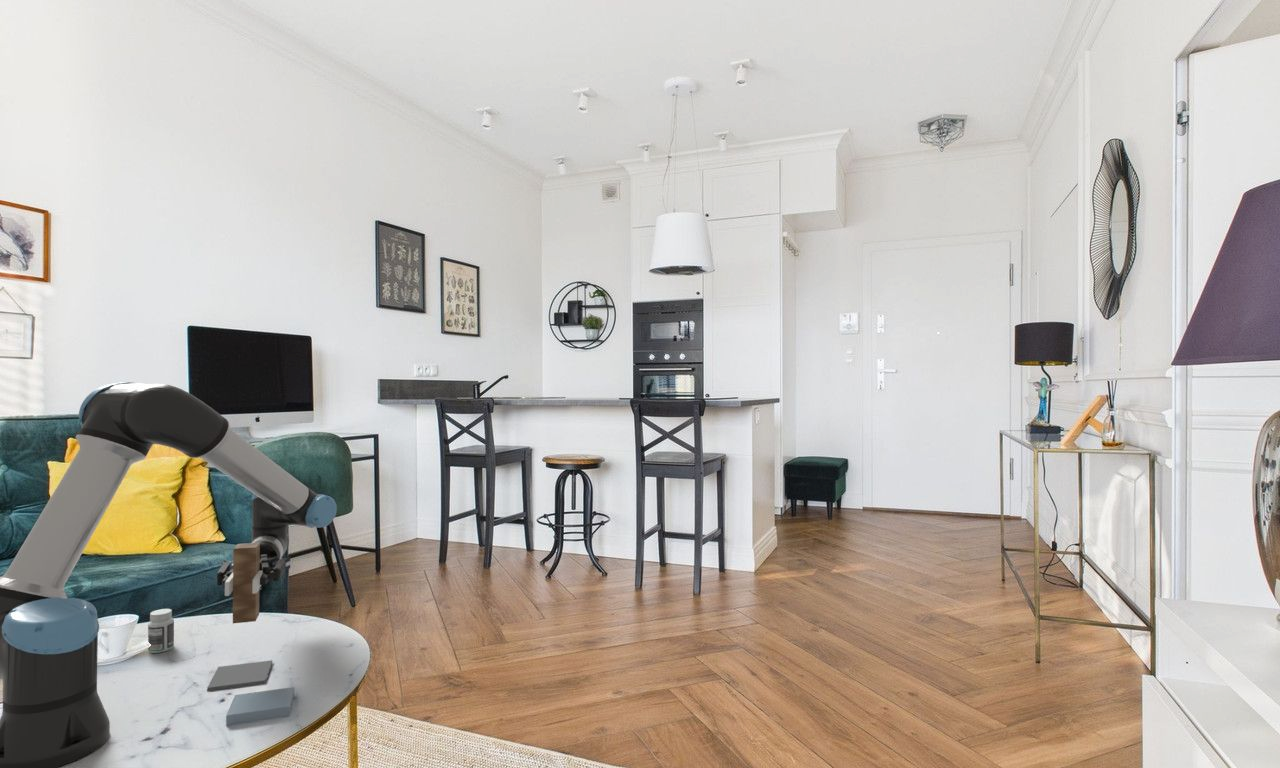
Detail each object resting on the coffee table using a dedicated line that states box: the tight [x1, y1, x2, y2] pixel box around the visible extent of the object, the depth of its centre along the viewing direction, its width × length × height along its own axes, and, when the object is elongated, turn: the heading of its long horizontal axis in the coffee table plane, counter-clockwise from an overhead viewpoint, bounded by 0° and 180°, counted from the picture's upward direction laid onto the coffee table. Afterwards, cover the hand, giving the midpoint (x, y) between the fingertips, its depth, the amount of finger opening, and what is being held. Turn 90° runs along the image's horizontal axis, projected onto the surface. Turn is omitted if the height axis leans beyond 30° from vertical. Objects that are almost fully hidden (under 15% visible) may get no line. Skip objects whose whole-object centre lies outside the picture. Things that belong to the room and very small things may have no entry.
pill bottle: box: [147, 608, 175, 654], centre depth 150 cm, size 5×5×8 cm
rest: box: [206, 659, 273, 692], centre depth 137 cm, size 10×10×1 cm
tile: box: [225, 686, 295, 726], centre depth 124 cm, size 10×2×8 cm
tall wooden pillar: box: [232, 542, 260, 624], centre depth 136 cm, size 4×4×15 cm
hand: (240, 587), depth 131 cm, fingers closed on tall wooden pillar, 4 cm apart
